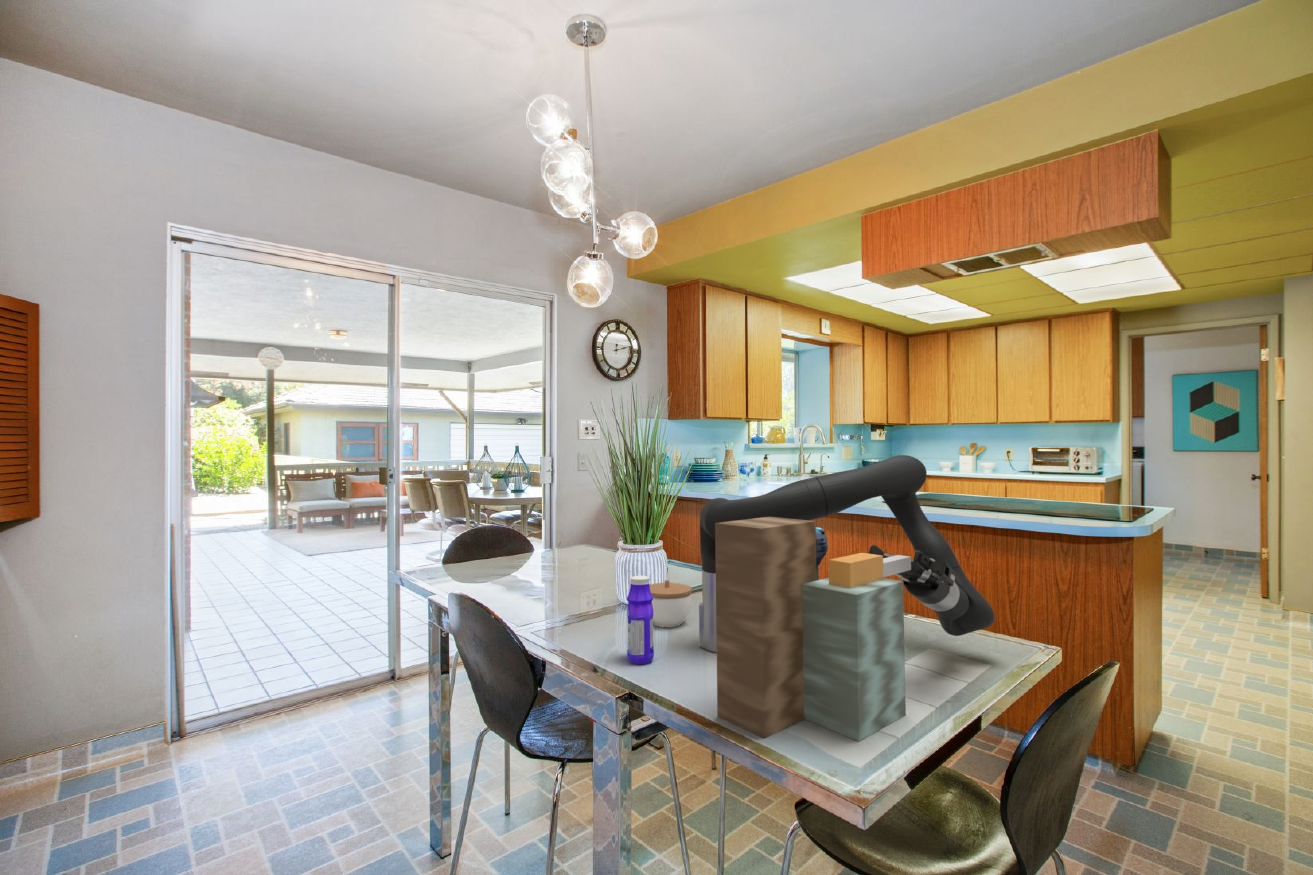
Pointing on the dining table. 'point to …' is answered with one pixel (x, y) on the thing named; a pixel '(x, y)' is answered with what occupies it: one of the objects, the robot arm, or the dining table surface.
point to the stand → (802, 636)
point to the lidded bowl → (670, 603)
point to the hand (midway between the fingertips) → (893, 552)
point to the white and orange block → (865, 568)
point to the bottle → (640, 621)
